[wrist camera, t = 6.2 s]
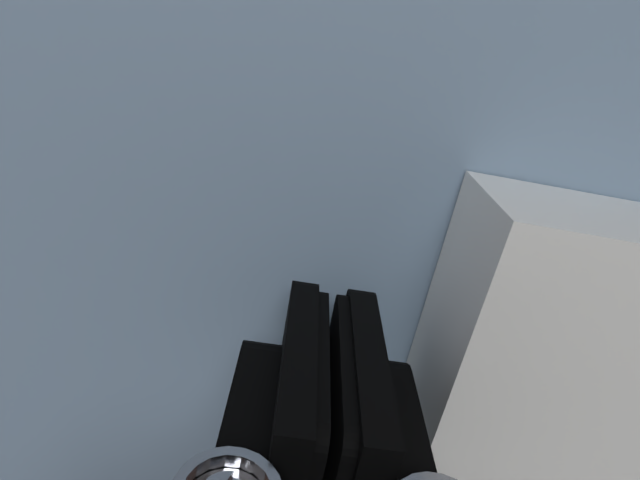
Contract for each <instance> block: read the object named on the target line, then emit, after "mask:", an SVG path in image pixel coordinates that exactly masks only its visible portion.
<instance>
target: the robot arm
mask: <svg viewBox="0 0 640 480" xmlns="http://www.w3.org/2000/svg"><path fill="white" fill-rule="evenodd" d="M173 480H457V479H455V478H452V477H450V476H447V475H445V474H442V473H437V469H436V465H435V461H434V457H433V453H432V449H431V445H430V441H429V437H428V433H427V429H426V425H425V421H424V417H423V413H422V409H421V404H420V400H419V396H418V392H417V388H416V384H415V380H414V376H413V372H412V369H411V366H410V365H409V364H408V363H404V362H397V361H390V360H388V354H387V349H386V343H385V338H384V333H383V327H382V322H381V317H380V311H379V306H378V300H377V295H376V293H374V292H367V291H360V290H354V289H348V290H347V293H346V295H339V294H337V295H336V298H335V303H334V308H333V313H332V317H331V322H330V325H329V293H325V292H319V284H314V283H307V282H300V281H294V280H292V285H291V291H290V298H289V304H288V310H287V316H286V322H285V328H284V335H283V341H282V345H277V344H270V343H263V342H255V341H248V340H243V342H242V345H241V349H240V353H239V357H238V361H237V364H236V368H235V372H234V376H233V380H232V384H231V388H230V392H229V396H228V400H227V404H226V407H225V411H224V415H223V419H222V423H221V427H220V431H219V435H218V439H217V443H216V447H215V448H211V449H208V450H206V451H203V452H201V453H198V454H196V455H195V456H193V457H192V458H191V459H189V460H188V461H187V462H185V463H184V464H183V465H182V467H181V468H180V469H179V471H178V472H177V473H176V475H175V476H174V478H173Z"/></svg>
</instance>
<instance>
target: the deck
mask: <svg viewBox="0 0 640 480" xmlns="http://www.w3.org/2000/svg"><path fill="white" fill-rule="evenodd" d="M466 171H472V172H477V173H483V174H488V175H494V176H499V177H505V178H510V179H516V180H521V181H527V182H532V183H538V184H543V185H549V186H554V187H560V188H565V189H571V190H576V191H582V192H587V193H593V194H598V195H604V196H609V197H615V198H620V199H626V200H631V201H637V202H640V0H0V480H173V478H174V476H175V475H176V473H177V472H178V471H179V469H180V468H181V467H182V465H183V464H184V463H185V462H187V461H188V460H189V459H191V458H192V457H193V456H195V455H196V454H198V453H201V452H203V451H206V450H208V449H211V448H215V447H216V443H217V439H218V435H219V431H220V427H221V423H222V419H223V415H224V411H225V407H226V404H227V400H228V396H229V392H230V388H231V384H232V380H233V376H234V372H235V368H236V364H237V361H238V357H239V353H240V349H241V345H242V342H243V340H248V341H255V342H263V343H270V344H277V345H282V341H283V335H284V328H285V322H286V316H287V310H288V304H289V298H290V291H291V285H292V280H294V281H300V282H307V283H314V284H319V292H325V293H329V325H330V322H331V317H332V313H333V308H334V303H335V298H336V295H337V294H339V295H346V293H347V290H348V289H354V290H360V291H367V292H374V293H376V295H377V300H378V306H379V311H380V317H381V322H382V327H383V333H384V338H385V343H386V349H387V354H388V360H390V361H397V362H404V363H406V361H407V358H408V355H409V352H410V349H411V345H412V342H413V339H414V336H415V333H416V329H417V326H418V323H419V320H420V317H421V313H422V310H423V307H424V304H425V301H426V297H427V294H428V291H429V288H430V285H431V281H432V278H433V275H434V272H435V269H436V265H437V262H438V259H439V256H440V252H441V249H442V246H443V243H444V240H445V236H446V233H447V230H448V227H449V224H450V220H451V217H452V214H453V211H454V208H455V204H456V201H457V198H458V195H459V192H460V188H461V185H462V182H463V179H464V176H465V172H466Z"/></svg>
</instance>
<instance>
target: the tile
mask: <svg viewBox="0 0 640 480" xmlns="http://www.w3.org/2000/svg"><path fill="white" fill-rule="evenodd" d="M406 363H408V364H409V365H410V366H411V369H412V372H413V376H414V380H415V384H416V388H417V392H418V396H419V400H420V404H421V409H422V413H423V417H424V421H425V425H426V429H427V433H428V437H429V441H430V445H431V449H432V453H433V457H434V461H435V465H436V469H437V473H442V474H445V475H447V476H450V477H452V478H455V479H457V480H640V202H637V201H631V200H626V199H620V198H615V197H609V196H604V195H598V194H593V193H587V192H582V191H576V190H571V189H565V188H560V187H554V186H549V185H543V184H538V183H532V182H527V181H521V180H516V179H510V178H505V177H499V176H494V175H488V174H483V173H477V172H472V171H466V172H465V176H464V179H463V182H462V185H461V188H460V192H459V195H458V198H457V201H456V204H455V208H454V211H453V214H452V217H451V220H450V224H449V227H448V230H447V233H446V236H445V240H444V243H443V246H442V249H441V252H440V256H439V259H438V262H437V265H436V269H435V272H434V275H433V278H432V281H431V285H430V288H429V291H428V294H427V297H426V301H425V304H424V307H423V310H422V313H421V317H420V320H419V323H418V326H417V329H416V333H415V336H414V339H413V342H412V345H411V349H410V352H409V355H408V358H407V361H406Z"/></svg>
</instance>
